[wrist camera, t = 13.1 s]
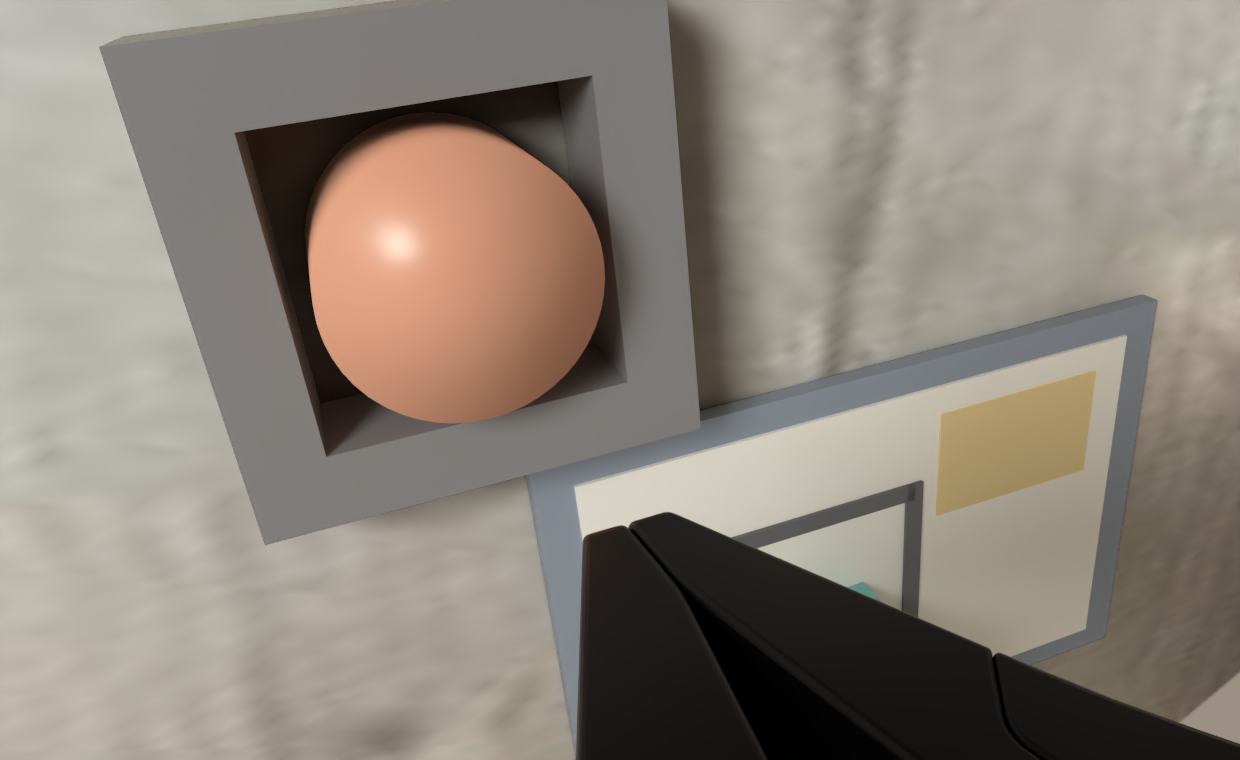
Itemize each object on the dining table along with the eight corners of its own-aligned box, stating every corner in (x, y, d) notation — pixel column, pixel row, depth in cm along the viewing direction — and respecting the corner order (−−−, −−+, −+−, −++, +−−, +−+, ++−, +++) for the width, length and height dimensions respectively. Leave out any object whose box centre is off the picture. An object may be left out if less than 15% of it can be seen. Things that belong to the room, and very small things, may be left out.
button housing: (617, -29, 18) (664, -28, 16) (658, 383, 22) (700, 428, 20) (122, 36, 16) (99, 46, 14) (266, 482, 20) (265, 545, 18)
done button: (535, 93, 18) (586, 118, 15) (568, 325, 21) (619, 386, 18) (275, 135, 17) (275, 171, 14) (339, 378, 19) (351, 453, 16)
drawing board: (1142, 294, 26) (1163, 302, 25) (1093, 627, 31) (1110, 640, 31) (522, 457, 22) (529, 471, 21) (586, 814, 27) (593, 834, 26)
